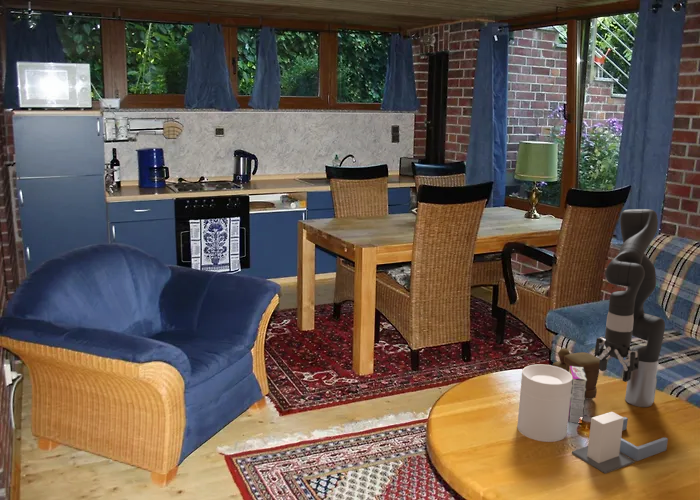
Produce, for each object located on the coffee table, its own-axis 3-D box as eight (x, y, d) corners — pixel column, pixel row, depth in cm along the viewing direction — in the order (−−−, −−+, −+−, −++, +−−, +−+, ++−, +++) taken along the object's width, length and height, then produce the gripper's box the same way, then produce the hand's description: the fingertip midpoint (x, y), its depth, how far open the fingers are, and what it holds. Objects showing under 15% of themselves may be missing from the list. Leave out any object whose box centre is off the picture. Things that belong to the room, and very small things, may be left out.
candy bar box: (564, 408, 245) (568, 365, 241) (579, 409, 244) (583, 366, 240) (567, 422, 234) (572, 378, 230) (583, 424, 233) (587, 379, 229)
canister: (569, 424, 233) (575, 369, 228) (562, 446, 219) (568, 388, 214) (522, 414, 240) (527, 361, 235) (512, 434, 225) (517, 378, 221)
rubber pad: (600, 443, 221) (600, 441, 221) (634, 462, 210) (634, 460, 210) (571, 453, 215) (571, 451, 215) (605, 473, 204) (605, 471, 204)
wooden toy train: (601, 403, 249) (606, 360, 245) (575, 408, 245) (580, 365, 241) (564, 381, 267) (568, 341, 263) (540, 385, 263) (544, 345, 259)
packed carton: (587, 456, 212) (591, 417, 209) (607, 449, 217) (611, 411, 213) (598, 463, 208) (603, 424, 205) (618, 455, 213) (623, 417, 210)
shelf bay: (623, 427, 232) (624, 416, 231) (666, 450, 218) (667, 438, 217) (594, 437, 225) (595, 426, 224) (636, 461, 211) (638, 449, 210)
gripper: (591, 321, 211) (587, 369, 215) (631, 336, 199) (625, 387, 203) (608, 316, 215) (603, 364, 219) (648, 331, 203) (642, 381, 207)
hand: (614, 375), depth 211 cm, fingers open, 8 cm apart
